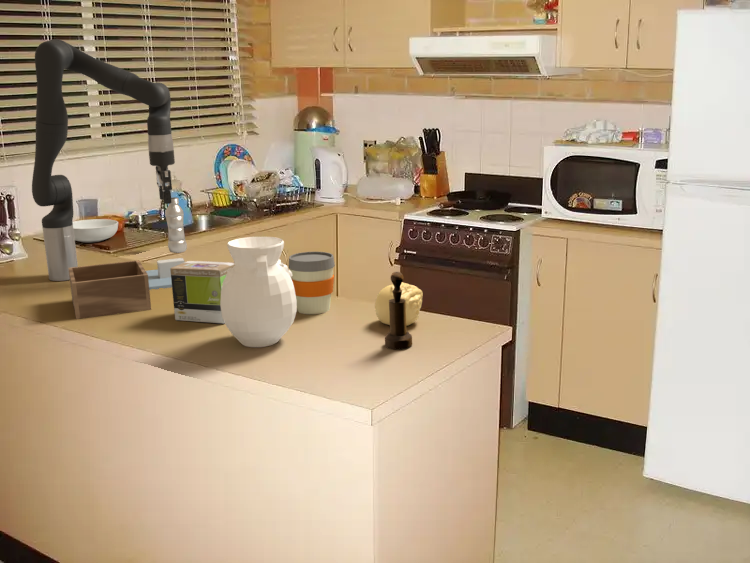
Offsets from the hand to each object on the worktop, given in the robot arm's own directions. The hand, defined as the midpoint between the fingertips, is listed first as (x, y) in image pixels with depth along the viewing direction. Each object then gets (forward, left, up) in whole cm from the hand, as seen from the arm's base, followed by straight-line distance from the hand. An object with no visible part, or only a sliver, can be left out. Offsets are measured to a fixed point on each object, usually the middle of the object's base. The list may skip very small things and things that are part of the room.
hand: (165, 201), depth 266 cm
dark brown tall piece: (+92, +39, -25) cm, 103 cm away
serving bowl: (-78, -19, -25) cm, 84 cm away
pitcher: (+74, +10, -25) cm, 79 cm away
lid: (0, 0, -26) cm, 26 cm away
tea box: (+48, +2, -25) cm, 54 cm away
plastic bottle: (-38, +8, -25) cm, 46 cm away
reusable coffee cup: (+54, +30, -25) cm, 67 cm away
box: (+23, -21, -25) cm, 40 cm away
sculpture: (+76, +46, -25) cm, 92 cm away
